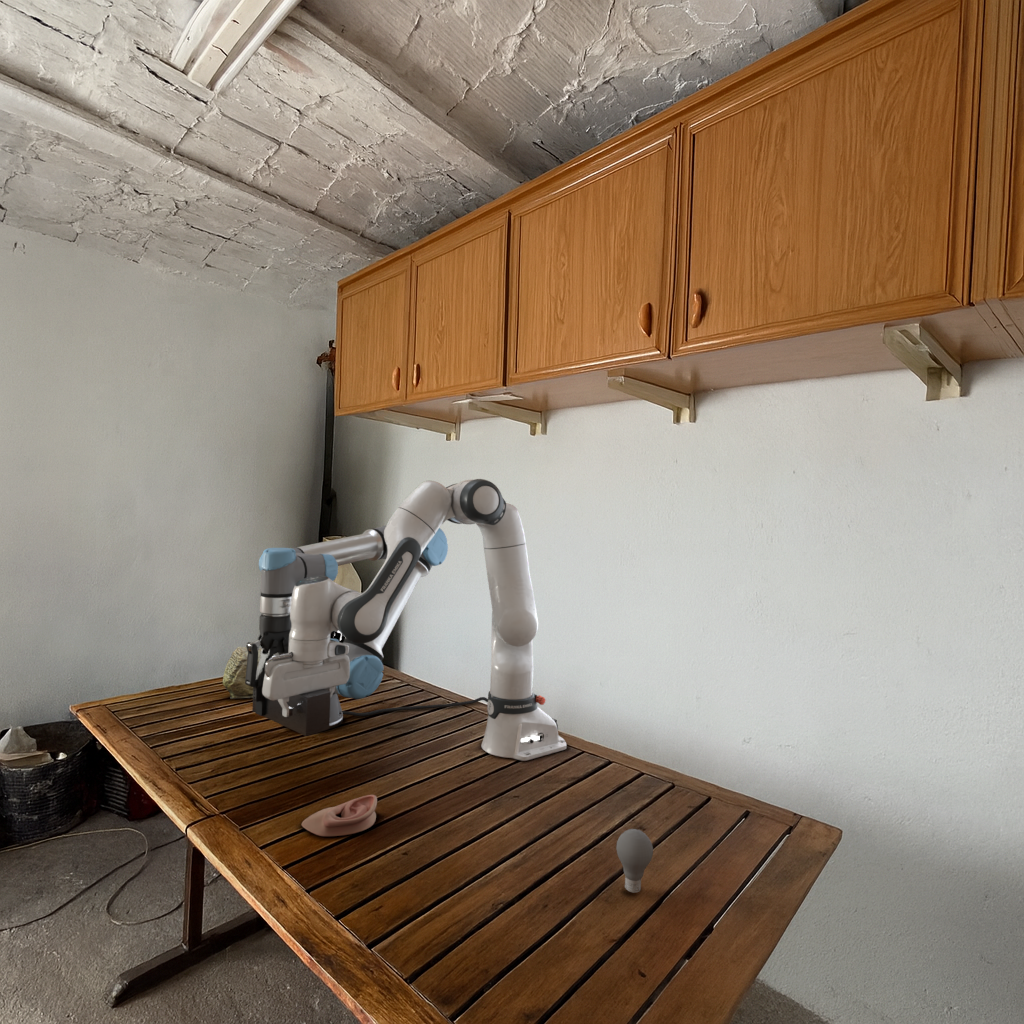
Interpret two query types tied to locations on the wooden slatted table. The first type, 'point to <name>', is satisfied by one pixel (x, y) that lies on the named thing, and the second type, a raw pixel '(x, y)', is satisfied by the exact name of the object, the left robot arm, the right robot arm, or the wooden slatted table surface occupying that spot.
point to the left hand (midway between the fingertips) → (273, 710)
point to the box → (302, 712)
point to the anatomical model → (343, 817)
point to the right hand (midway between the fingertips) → (306, 711)
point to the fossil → (238, 674)
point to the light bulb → (634, 857)
